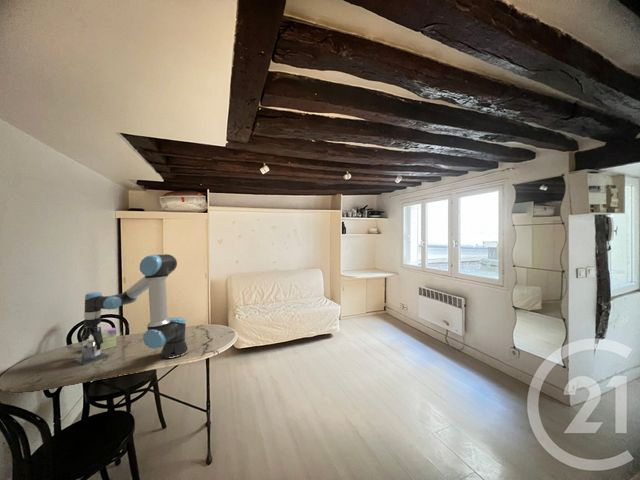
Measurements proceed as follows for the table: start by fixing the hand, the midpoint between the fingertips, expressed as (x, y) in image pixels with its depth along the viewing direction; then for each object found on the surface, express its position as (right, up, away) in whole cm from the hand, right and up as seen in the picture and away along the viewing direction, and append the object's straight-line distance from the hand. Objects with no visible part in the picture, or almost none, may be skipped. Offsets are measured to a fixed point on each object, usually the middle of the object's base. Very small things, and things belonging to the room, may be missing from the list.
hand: (91, 352), depth 153 cm
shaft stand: (0, -4, 0) cm, 4 cm away
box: (-6, -4, +17) cm, 18 cm away
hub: (0, -2, 0) cm, 3 cm away
